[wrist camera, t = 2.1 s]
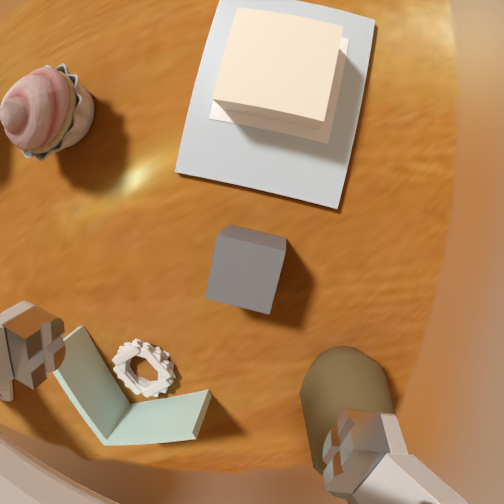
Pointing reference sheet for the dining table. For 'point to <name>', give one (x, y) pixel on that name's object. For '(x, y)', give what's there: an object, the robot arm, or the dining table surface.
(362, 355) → the squeeze bottle
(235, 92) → the cream base block
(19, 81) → the cupcake
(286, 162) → the light grey flat slab
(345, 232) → the dining table surface
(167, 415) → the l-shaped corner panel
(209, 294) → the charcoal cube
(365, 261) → the dining table surface
